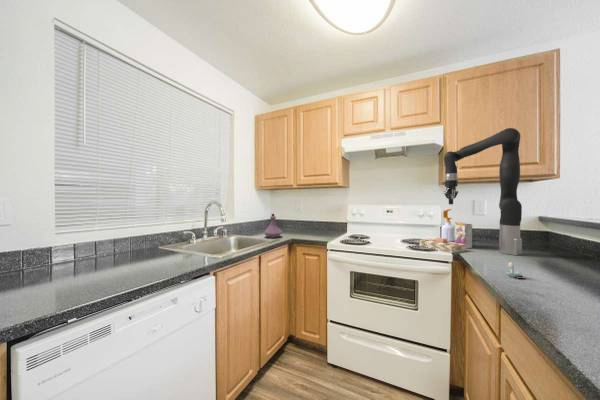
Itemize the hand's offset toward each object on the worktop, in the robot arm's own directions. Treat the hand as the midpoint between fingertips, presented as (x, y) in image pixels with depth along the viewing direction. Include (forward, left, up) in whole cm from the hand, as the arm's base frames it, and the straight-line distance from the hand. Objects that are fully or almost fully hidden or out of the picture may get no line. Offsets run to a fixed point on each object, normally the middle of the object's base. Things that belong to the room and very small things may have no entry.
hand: (450, 204), depth 160 cm
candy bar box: (-7, -2, -29) cm, 30 cm away
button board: (-4, +16, -29) cm, 33 cm away
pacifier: (-52, +40, -29) cm, 72 cm away
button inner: (-11, +16, -28) cm, 34 cm away
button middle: (-4, +16, -25) cm, 30 cm away
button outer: (+3, +16, -28) cm, 32 cm away
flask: (+84, +106, -29) cm, 138 cm away
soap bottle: (+12, -16, -29) cm, 35 cm away
